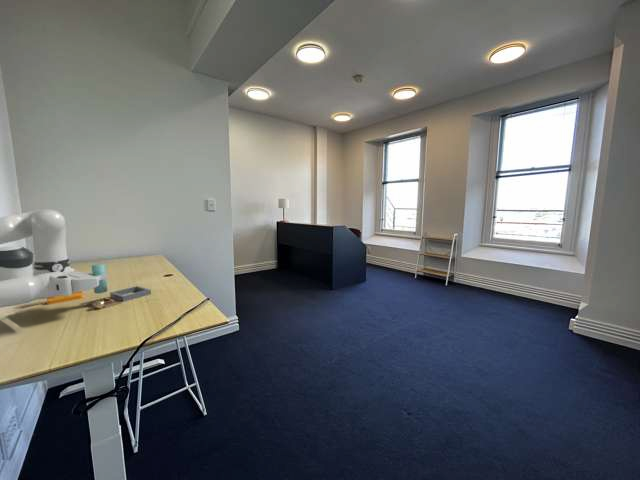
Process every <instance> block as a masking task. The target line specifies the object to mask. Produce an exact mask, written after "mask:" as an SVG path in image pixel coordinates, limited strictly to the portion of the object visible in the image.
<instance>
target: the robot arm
mask: <svg viewBox="0 0 640 480" xmlns="http://www.w3.org/2000/svg"><path fill="white" fill-rule="evenodd" d="M29 237H32V247H33V252H32V251H31V250H29V249H27V248H26V247H24V246H18V245H9V246H2V247H0V308H7V307H12V306H18V305H23V304H27V303H31V302H33V301H36V300H47V298H51V297H57V296H70V295H72V293H77V292H81V291H82V292H84V291H88V290H92V289H94V288H96V287H98V286H99V280H102V279H106V280H107V274H106V275H105V274H101V275H98V276H93V274H92V272H89V273H88V272H87V273H86V272H85V273H84V272H81V271H77V270H75V269H74V268H72V267H70V265H71V264H70V259H69V258H68V251H67V226H66V218H65V217H64V215H63V214H62V213H60V212H59V211H57V210H54V209H38V210H33V211H28V212H23V213H18V214H13V215H7V216H2V217H0V245H3V244H4V245H5V244H7V243H12V242H17V241H19V240H23V239H26V238H29Z"/></svg>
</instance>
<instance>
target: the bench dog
mask: <svg viewBox="0 0 640 480" xmlns="http://www.w3.org/2000/svg"><path fill="white" fill-rule="evenodd" d="M94 305H95V309H96V311H99V310H98V309H100V310H102V309H106V308H105V302H104V301H97V302H94Z"/></svg>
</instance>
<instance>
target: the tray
mask: <svg viewBox="0 0 640 480" xmlns="http://www.w3.org/2000/svg"><path fill="white" fill-rule="evenodd" d="M151 294H152V290H151V289H150V288H145V287H143V286H139V285H136V286H133V287H127V288H124V289H119V290H115V291H111V292H109V298H110V299H113V300H116V301H117V300H118V301H119V302H122V303H124V302H127V301H131V300H135V299H138V298H142V297H145V296H149V295H151Z"/></svg>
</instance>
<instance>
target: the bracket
mask: <svg viewBox="0 0 640 480" xmlns="http://www.w3.org/2000/svg"><path fill="white" fill-rule="evenodd" d="M83 298H84V294H83V291H81V292H77V293H72V295H70V296H57V297H51V298H47V299H46V304H47V305H54V304H60V303H65V302H70V301H77V300H82V299H83Z"/></svg>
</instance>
